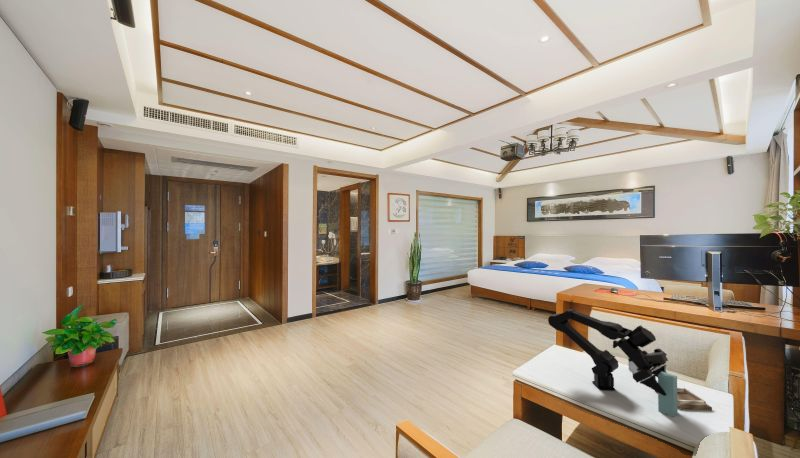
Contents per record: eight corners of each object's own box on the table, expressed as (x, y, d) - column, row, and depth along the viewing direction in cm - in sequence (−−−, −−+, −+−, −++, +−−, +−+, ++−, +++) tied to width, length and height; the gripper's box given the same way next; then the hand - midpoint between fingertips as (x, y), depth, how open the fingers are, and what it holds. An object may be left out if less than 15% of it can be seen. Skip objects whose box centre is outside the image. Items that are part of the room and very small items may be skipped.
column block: (673, 417, 111) (673, 379, 110) (658, 410, 114) (657, 374, 114) (677, 412, 113) (677, 376, 113) (662, 406, 117) (661, 371, 117)
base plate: (677, 408, 115) (677, 402, 115) (654, 391, 127) (654, 385, 127) (712, 409, 114) (711, 403, 114) (685, 392, 126) (685, 386, 126)
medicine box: (648, 378, 137) (648, 360, 137) (637, 377, 138) (637, 359, 138) (638, 370, 145) (638, 352, 145) (628, 369, 146) (627, 352, 146)
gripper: (642, 349, 112) (682, 391, 103) (658, 337, 123) (696, 374, 114) (618, 362, 119) (653, 402, 110) (636, 350, 129) (669, 386, 120)
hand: (669, 391), depth 113 cm, fingers open, 9 cm apart
